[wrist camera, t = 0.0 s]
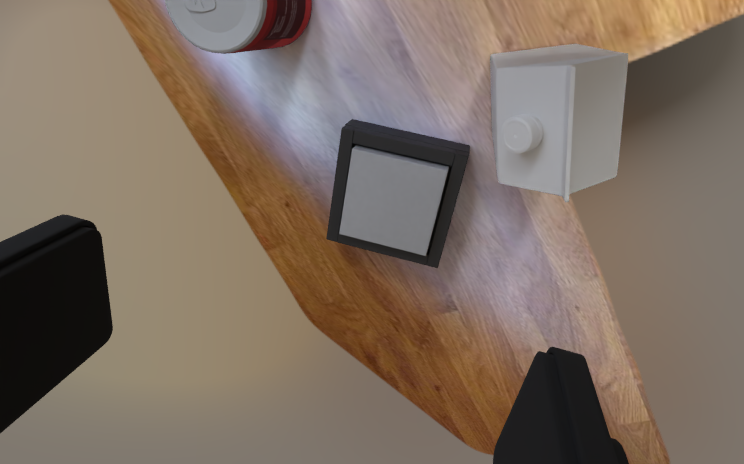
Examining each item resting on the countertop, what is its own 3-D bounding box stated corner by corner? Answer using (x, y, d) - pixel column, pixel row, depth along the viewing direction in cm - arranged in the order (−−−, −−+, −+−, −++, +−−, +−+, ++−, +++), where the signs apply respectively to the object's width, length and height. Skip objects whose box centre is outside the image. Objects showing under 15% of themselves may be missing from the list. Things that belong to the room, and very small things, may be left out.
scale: (352, 119, 45) (341, 127, 41) (470, 145, 43) (469, 156, 40) (336, 224, 50) (325, 239, 46) (440, 251, 49) (437, 268, 45)
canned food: (220, -13, 42) (142, -25, 32) (286, -65, 39) (222, -94, 29) (263, 63, 44) (202, 74, 34) (329, 20, 41) (283, 18, 31)
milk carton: (576, 43, 38) (654, 57, 21) (572, 127, 41) (638, 199, 24) (489, 53, 39) (498, 75, 23) (491, 133, 42) (499, 205, 25)
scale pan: (356, 144, 42) (352, 148, 41) (449, 165, 41) (448, 170, 40) (343, 227, 46) (339, 234, 45) (427, 249, 45) (425, 256, 44)
